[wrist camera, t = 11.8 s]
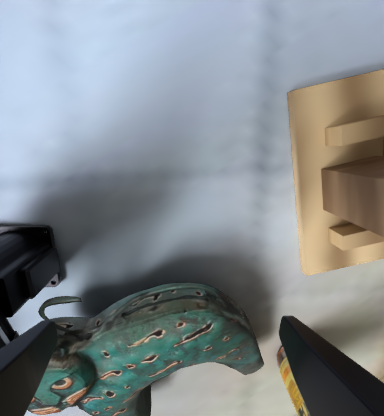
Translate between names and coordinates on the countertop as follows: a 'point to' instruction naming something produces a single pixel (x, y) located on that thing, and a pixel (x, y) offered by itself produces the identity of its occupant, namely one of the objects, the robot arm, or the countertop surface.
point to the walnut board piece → (356, 192)
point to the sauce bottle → (291, 384)
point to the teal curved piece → (141, 348)
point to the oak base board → (330, 156)
